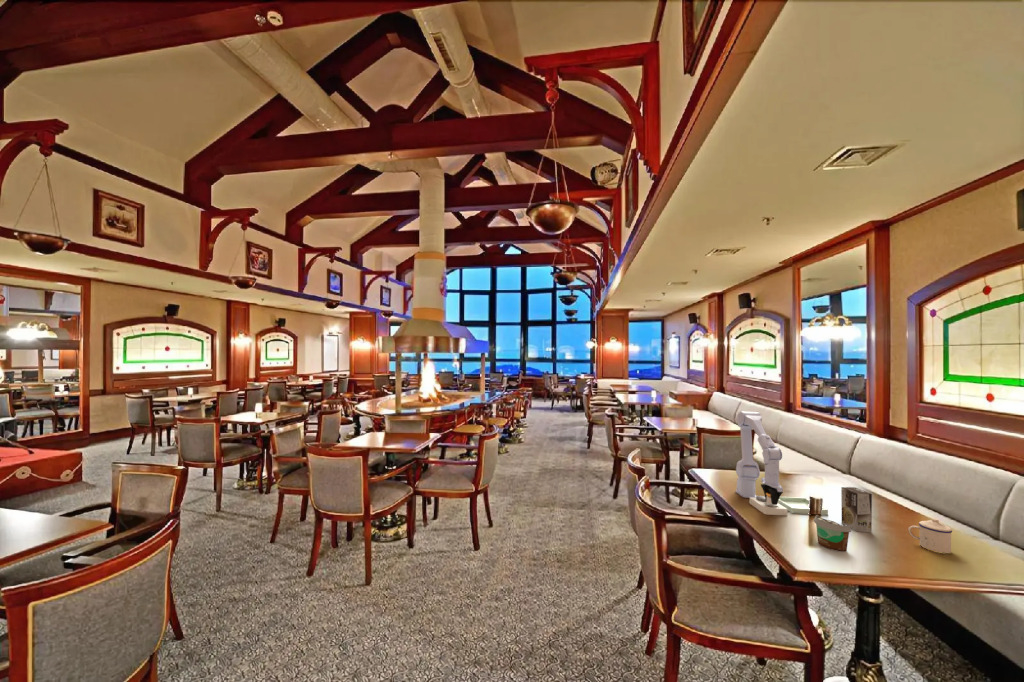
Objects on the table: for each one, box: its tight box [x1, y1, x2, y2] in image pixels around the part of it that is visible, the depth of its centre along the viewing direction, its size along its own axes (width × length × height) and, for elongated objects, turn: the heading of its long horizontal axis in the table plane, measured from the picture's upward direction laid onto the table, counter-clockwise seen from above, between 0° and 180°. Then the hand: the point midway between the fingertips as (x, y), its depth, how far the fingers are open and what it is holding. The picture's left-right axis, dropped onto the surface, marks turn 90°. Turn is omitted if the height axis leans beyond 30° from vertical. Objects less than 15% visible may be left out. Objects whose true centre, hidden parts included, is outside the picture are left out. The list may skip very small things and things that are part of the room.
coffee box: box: [840, 486, 873, 533], centre depth 180 cm, size 9×6×16 cm
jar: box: [766, 492, 776, 507], centre depth 195 cm, size 5×5×8 cm
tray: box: [778, 496, 829, 516], centre depth 201 cm, size 16×16×2 cm
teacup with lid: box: [908, 517, 953, 554], centre depth 162 cm, size 12×9×12 cm
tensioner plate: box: [749, 495, 788, 516], centre depth 198 cm, size 14×10×4 cm
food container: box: [813, 515, 852, 553], centre depth 160 cm, size 12×6×10 cm, turn 22°
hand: (771, 502), depth 195 cm, fingers closed on jar, 4 cm apart
